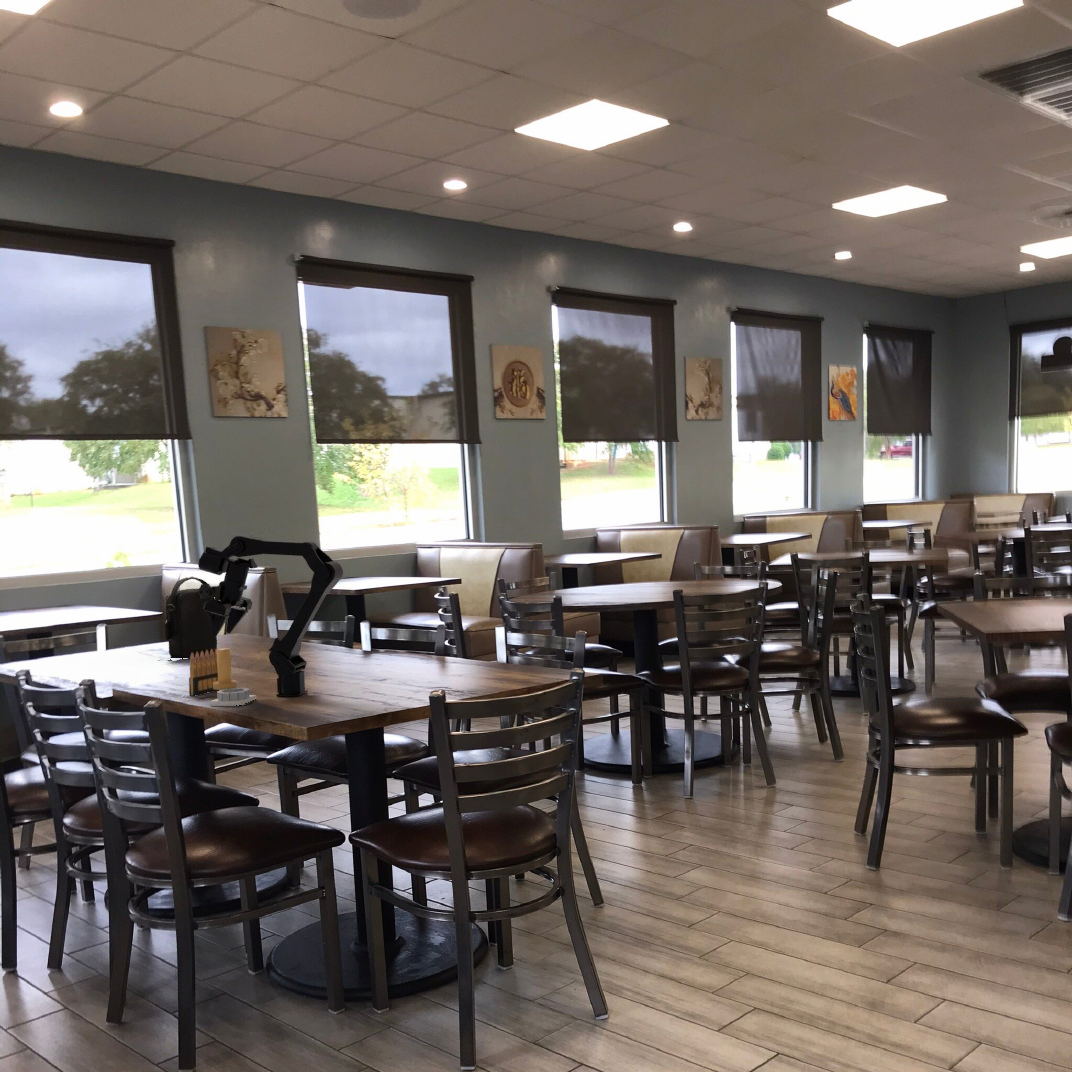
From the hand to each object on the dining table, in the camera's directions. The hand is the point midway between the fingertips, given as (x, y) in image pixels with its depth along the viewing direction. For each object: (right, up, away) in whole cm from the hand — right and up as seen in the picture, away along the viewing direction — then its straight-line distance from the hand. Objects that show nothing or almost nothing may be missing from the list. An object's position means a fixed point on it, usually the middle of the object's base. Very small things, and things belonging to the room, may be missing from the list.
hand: (221, 634), depth 284 cm
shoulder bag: (-35, -15, +81) cm, 90 cm away
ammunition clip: (-6, -17, +6) cm, 19 cm away
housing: (+7, -17, -11) cm, 21 cm away
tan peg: (+2, -17, -2) cm, 17 cm away
